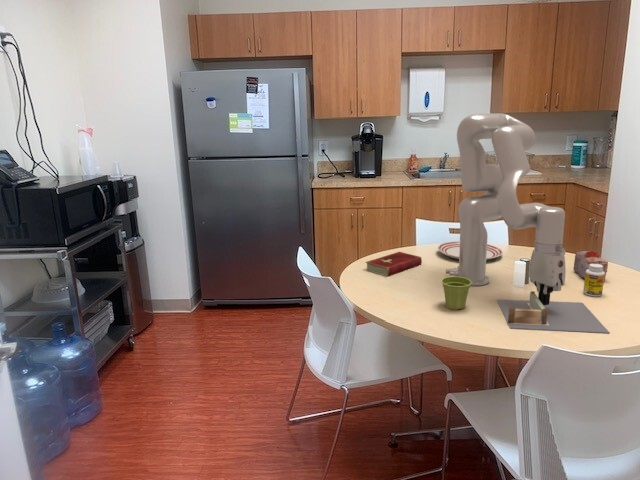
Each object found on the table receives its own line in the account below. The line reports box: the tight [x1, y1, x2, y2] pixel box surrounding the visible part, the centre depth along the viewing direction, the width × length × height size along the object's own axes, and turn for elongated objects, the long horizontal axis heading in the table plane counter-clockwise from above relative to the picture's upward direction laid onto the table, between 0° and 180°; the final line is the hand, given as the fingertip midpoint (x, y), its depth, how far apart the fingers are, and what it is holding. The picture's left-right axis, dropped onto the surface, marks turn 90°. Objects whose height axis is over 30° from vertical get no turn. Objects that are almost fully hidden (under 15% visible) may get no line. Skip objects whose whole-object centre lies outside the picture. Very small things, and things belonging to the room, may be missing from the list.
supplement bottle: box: [582, 264, 605, 298], centre depth 157 cm, size 6×6×10 cm
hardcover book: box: [365, 251, 423, 278], centre depth 193 cm, size 12×21×4 cm, turn 131°
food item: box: [573, 250, 609, 282], centre depth 174 cm, size 14×8×10 cm, turn 177°
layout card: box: [496, 298, 610, 334], centre depth 143 cm, size 26×22×1 cm
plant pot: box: [440, 275, 472, 311], centre depth 151 cm, size 9×9×9 cm
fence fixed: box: [508, 307, 548, 324], centre depth 137 cm, size 10×2×5 cm, turn 79°
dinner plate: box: [437, 240, 504, 261], centre depth 206 cm, size 27×27×3 cm
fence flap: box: [528, 290, 545, 321], centre depth 144 cm, size 14×1×4 cm, turn 169°
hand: (543, 304), depth 147 cm, fingers closed
